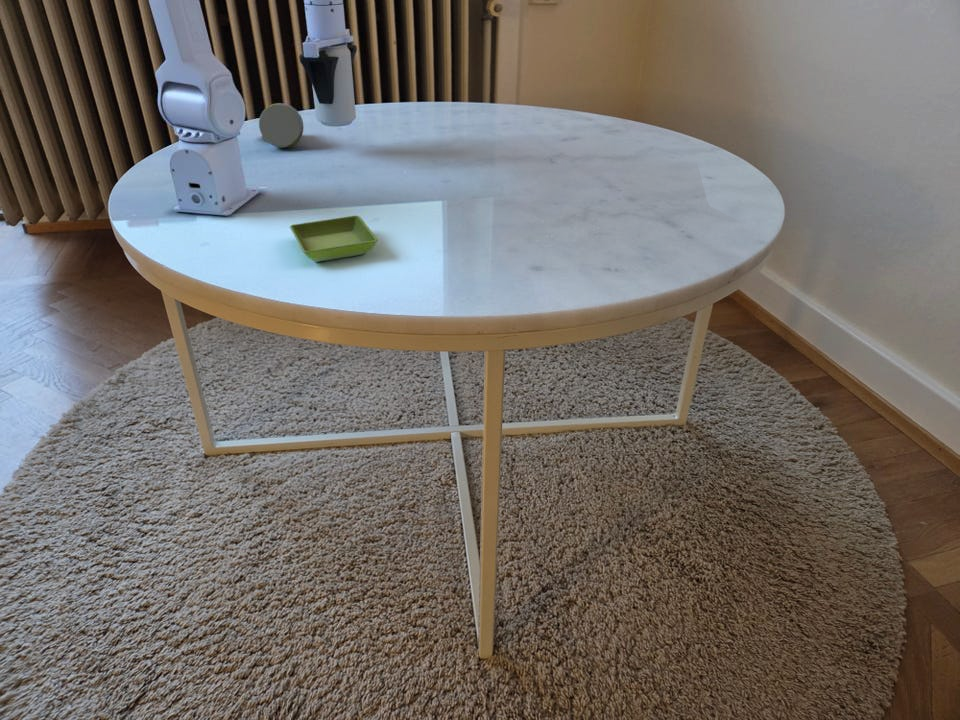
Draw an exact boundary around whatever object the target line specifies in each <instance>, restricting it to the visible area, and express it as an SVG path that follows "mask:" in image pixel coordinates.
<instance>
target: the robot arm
mask: <svg viewBox="0 0 960 720" xmlns="http://www.w3.org/2000/svg"><path fill="white" fill-rule="evenodd" d="M303 3H304V13H305V20H306V30H307V36H306V38H305V41H304V42H302V50H303V53H301V54H299V55H298V59H299V63H300V64H301V65H302V67H303V68H304V70H305V71H306V73H307V76H308V77H309V79H310V82H311V85H312V84H313V87H314V90H315V93H316V96H317V99H318V101H319V103H320V104H332V103H333V100H334V75H335V69H336V65H337V62H338V59H339V58H338V57H328V55H327V54H326V52H325V51H324V49H323V48H330V46H331V45H336V44H341V43H345V42H346V43H347V48H348V49H349V51H350V54H351V65H353V61H354V59H355V56H356V54H357V51H358V47H357V45H355V44H349V43H352V42H354V40H355V36H354V35H351V34H350V29H349V28H346V19H345V8H344V0H303ZM148 4H149V6H150V7H149V8H150V10H151V13H152V17H153V20H154V23H155V27H156V31H157V34H158V37H159V40H160V44H161V47H162V50H163V54H164V57H165V60H164V62H162V64H161V65H159V67H158V68H157V70H155V71H156V72H155V73H154V76H155V79H156V83H157V90H158V92H157V107H158V111H159V113H160V115H161V118H162V119H163V120H164V122H165V123H167V124H168V125H169V126H170V127H172V128H173V132H174V135H175V136H177V137H178V146H177V149H176V150H175V151H174V152H173V153H172V155H170V156H171V157H170V159H169V170H170V174H171V179H172V182H173V183H172V184H173V187H174V190H175V194H176V198H177V202H178V204H177V205H175V206H174V207H173V210H174V212H178V213H179V212H180V213H191V214H203V215H213V216H214V215H215V216H231V215H232V214H233V213H234V212H236V211H237V210H239V209H240V208H241V207H243V205H245V204H246V203H248V202H249V201H250V200H252V199H253V198H254V197H255V196H257V195H258V194H259V193H260V192H261V191H260V189H259V188H255V187H247V182H246V178H245V173H244V167H243V162H242V156H241V151H240V145H239V141H238V140H239V139H238V136H240V135H241V130H242V128H243V126H244V124H245V119H246V105H245V101H244V98H243V97H242V95H241V93H240V92H239V90H238V89H237V87H236V85H235V82H234V79H233V75H232V72H231V71H230V69H228V68H227V66H225V65H224V64H223V62H221V61H220V60H219V58H217V56H215V55H214V53H213V50H212V45H211V42H210V38H209V34H208V30H207V26H206V22H205V17H204V14H203V10H202V7H201V2H200V0H148ZM313 87H312V88H313Z"/></svg>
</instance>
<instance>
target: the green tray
mask: <svg viewBox="0 0 960 720" xmlns="http://www.w3.org/2000/svg"><path fill="white" fill-rule="evenodd" d="M289 229H290V231H291V232H292V234H293V236H294V238H295V240H296V241H297V243H298V245H299V247H300V250H301V251H302V252H303V255H305V256H306V257H307V258H308V259H309V260H311V261H312V262H315V263H318V262H319V263H320V262H324V261H330V260H336V259H342V258H348V257H354V256H361V255H365V254H367V253H368V252H370V251H371V250H372V249H374V247H375V246H376V244H377V242H378V237H376V235H375V234H374V232H372V230H371V229H370V228H369V226H368V225H367V224H366V222H365V221H364V220H363V218H362V217H361V216H360V215H348V216H342V217H336V218H328V219H322V220H315V221H307V222H302V223H295V224H291V225H289Z"/></svg>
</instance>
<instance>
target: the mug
mask: <svg viewBox="0 0 960 720" xmlns="http://www.w3.org/2000/svg"><path fill="white" fill-rule="evenodd" d="M258 128H259V132H260V134H261V139H262V140H264V141H266V143H268V144H269V145H272V146H273V147H277V148H280V149H281V148H282V149H286V148H291V147H292V146H294V145H296V144H298V143H299V141H300V140H301V138H302V136H303V133H304V122H303V118H302V116H301V114H300V112H299V111H298V110H297V109H296V108H294V106H292V105H289V104H287V103H282V102H275V103H272V104H270V105H267V106H266V107H265V108H264V109H263V111H262V112H261V113H260V116H259V120H258Z"/></svg>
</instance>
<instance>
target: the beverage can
mask: <svg viewBox="0 0 960 720" xmlns="http://www.w3.org/2000/svg"><path fill="white" fill-rule="evenodd" d="M347 45H348V43H346V42H345V43H341V44H336V45H331V46H330V48H323V49H324V51H325V52H326V54H327V55H328V57H338V58H339V59H338V62H337V65H336V69H335V75H334V100H333V103H332V104H320V103H319V101H318V99H317V96H316V93H315V90H314V87H313V84H312V83H311V85H312V86H311V87H312V92H313V93H312V94H313V104H314V111H315V112H314V113H315V119H316V120H317V122H319V123H321V125H323V126H325V127H336V128H337V127H338V128H339V127H345V126H349V125H352V123H353V122H354V121H355V120H356V118H357V114H356V103H355V102H356V101H355V91H354V79H353V78H354V77H353V68H352V65H353V64H352V65H351V54H350V51H349V49H348V48H347Z"/></svg>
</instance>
